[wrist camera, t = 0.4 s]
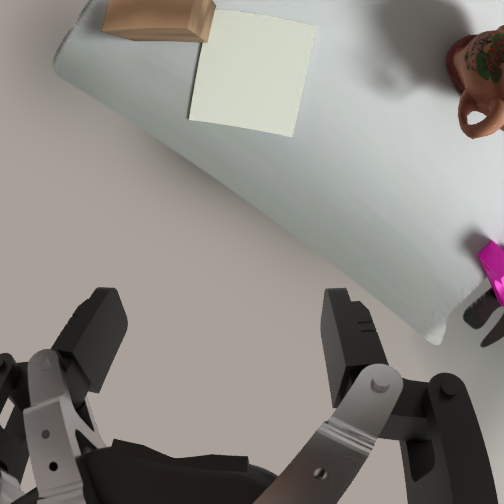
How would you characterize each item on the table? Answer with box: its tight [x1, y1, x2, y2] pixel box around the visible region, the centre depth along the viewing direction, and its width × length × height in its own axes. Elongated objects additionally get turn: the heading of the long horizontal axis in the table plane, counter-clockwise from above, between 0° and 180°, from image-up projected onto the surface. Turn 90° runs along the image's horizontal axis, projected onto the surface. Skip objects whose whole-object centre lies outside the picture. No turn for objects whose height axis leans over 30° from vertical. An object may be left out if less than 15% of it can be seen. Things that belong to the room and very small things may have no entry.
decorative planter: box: [446, 25, 504, 139], centre depth 20 cm, size 20×12×14 cm, turn 147°
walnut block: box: [102, 0, 216, 43], centre depth 22 cm, size 5×9×8 cm, turn 79°
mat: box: [189, 9, 316, 137], centre depth 29 cm, size 14×12×1 cm
